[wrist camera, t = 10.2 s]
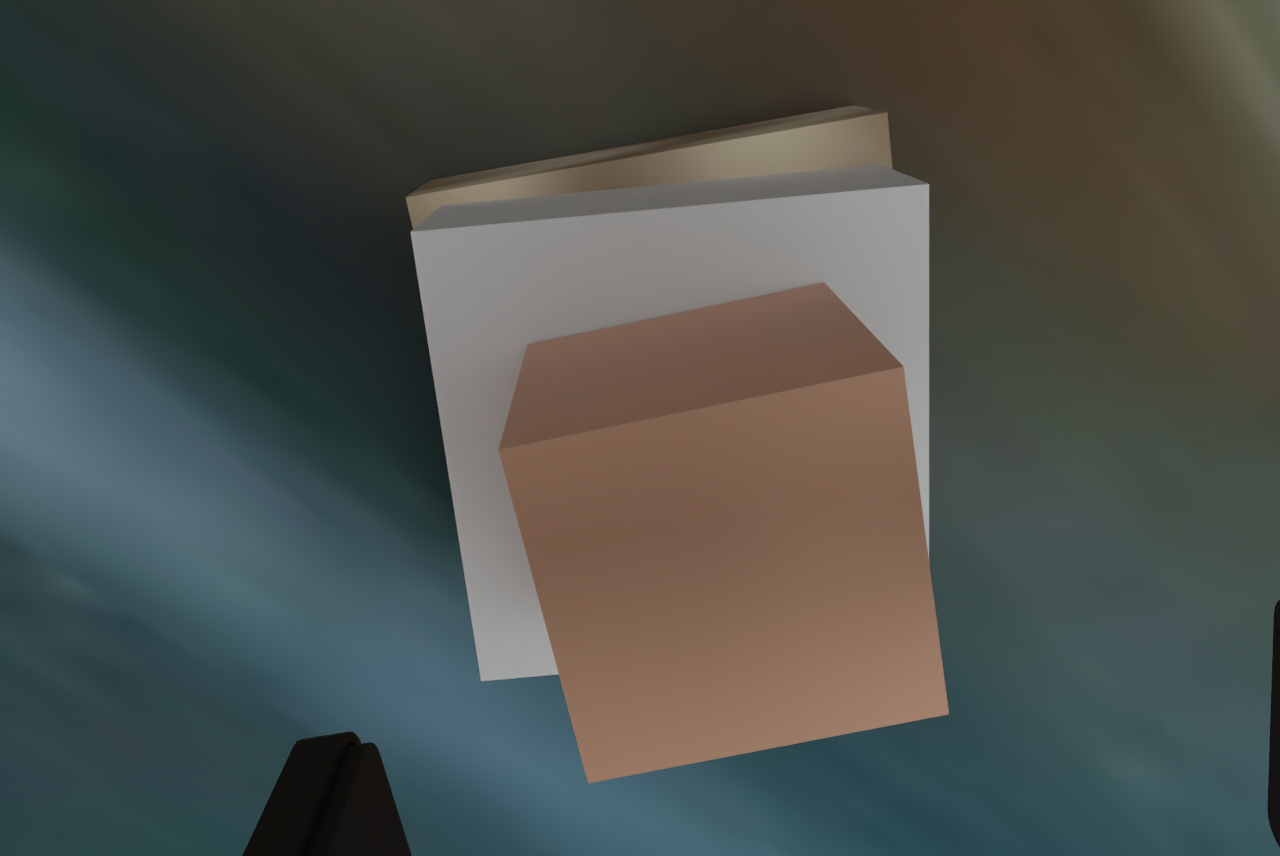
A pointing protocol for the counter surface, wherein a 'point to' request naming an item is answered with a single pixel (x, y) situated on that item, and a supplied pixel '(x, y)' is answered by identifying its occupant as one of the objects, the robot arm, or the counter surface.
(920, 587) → the terracotta cube
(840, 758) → the counter surface
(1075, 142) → the counter surface
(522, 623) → the grey top slab
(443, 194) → the maple base slab
